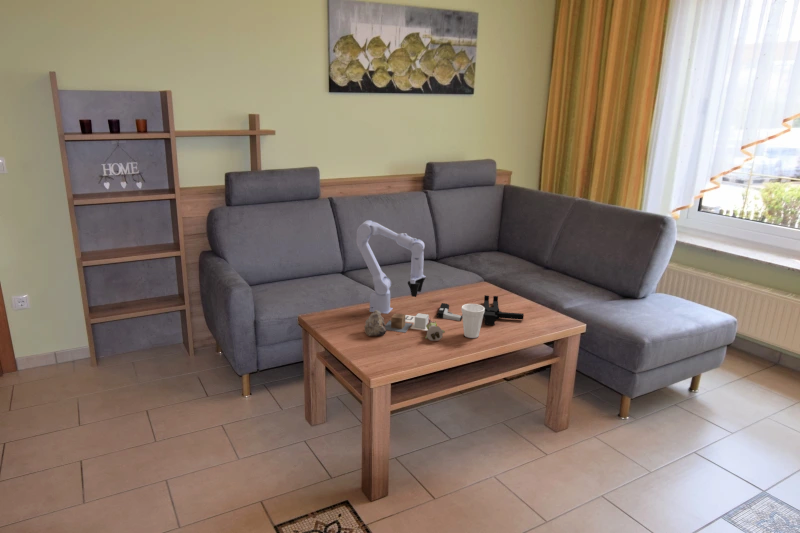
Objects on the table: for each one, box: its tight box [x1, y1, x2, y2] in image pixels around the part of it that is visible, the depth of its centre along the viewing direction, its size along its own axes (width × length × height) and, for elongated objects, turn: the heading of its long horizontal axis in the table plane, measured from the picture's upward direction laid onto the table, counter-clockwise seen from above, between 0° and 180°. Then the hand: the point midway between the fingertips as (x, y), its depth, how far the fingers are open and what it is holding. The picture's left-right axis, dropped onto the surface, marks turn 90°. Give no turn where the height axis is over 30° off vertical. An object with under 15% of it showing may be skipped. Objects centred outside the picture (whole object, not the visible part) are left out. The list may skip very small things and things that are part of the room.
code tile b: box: [410, 323, 428, 332], centre depth 251 cm, size 8×8×1 cm
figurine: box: [425, 317, 445, 342], centre depth 241 cm, size 9×7×15 cm
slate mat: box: [385, 320, 413, 334], centre depth 250 cm, size 11×11×1 cm
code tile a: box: [404, 314, 416, 324], centre depth 260 cm, size 8×8×1 cm
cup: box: [461, 303, 485, 339], centre depth 241 cm, size 10×10×13 cm
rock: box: [364, 310, 387, 337], centre depth 241 cm, size 9×12×10 cm
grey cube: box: [414, 312, 430, 329], centre depth 250 cm, size 5×5×5 cm
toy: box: [483, 294, 525, 326], centre depth 268 cm, size 28×6×30 cm
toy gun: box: [435, 302, 463, 322], centre depth 267 cm, size 3×16×12 cm
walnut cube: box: [391, 312, 406, 329], centre depth 249 cm, size 5×5×5 cm
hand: (416, 293), depth 264 cm, fingers open, 7 cm apart
